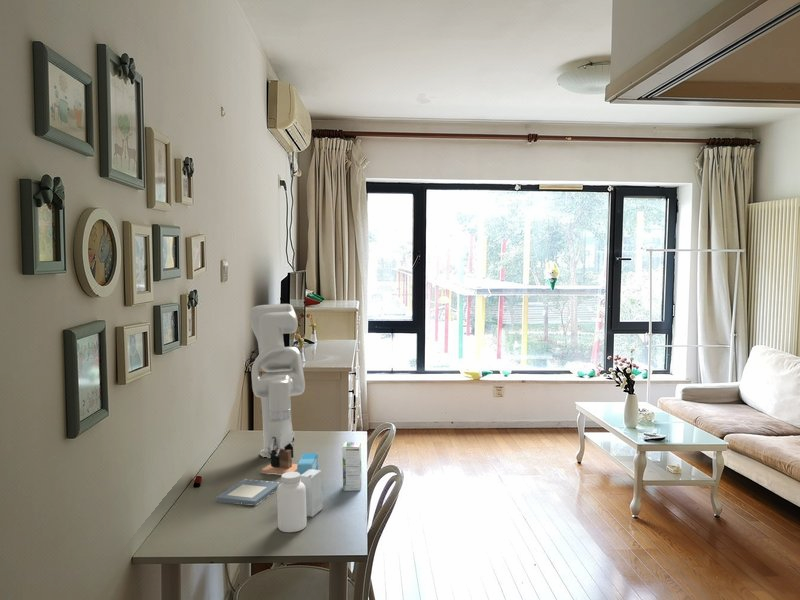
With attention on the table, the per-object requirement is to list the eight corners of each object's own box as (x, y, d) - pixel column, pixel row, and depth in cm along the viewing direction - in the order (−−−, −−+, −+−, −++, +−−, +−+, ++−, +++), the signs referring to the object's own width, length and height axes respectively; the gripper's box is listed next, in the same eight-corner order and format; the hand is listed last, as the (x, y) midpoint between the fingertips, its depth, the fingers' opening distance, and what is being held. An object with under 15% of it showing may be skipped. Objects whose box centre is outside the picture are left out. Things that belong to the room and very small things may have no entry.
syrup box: (344, 484, 200) (342, 441, 199) (362, 484, 200) (360, 441, 199) (343, 491, 194) (341, 447, 193) (361, 490, 194) (359, 446, 193)
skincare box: (310, 507, 182) (308, 468, 182) (323, 509, 181) (322, 469, 180) (299, 515, 177) (298, 475, 176) (313, 517, 175) (311, 477, 174)
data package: (313, 502, 186) (311, 464, 185) (298, 502, 186) (296, 464, 186) (319, 487, 198) (317, 451, 197) (305, 487, 198) (303, 452, 197)
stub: (273, 466, 220) (272, 445, 220) (303, 468, 217) (302, 448, 216) (262, 473, 213) (261, 452, 212) (292, 476, 209) (291, 455, 208)
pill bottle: (308, 530, 167) (306, 477, 166) (279, 535, 165) (276, 481, 164) (305, 519, 174) (302, 468, 173) (276, 523, 172) (274, 471, 171)
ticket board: (244, 483, 204) (244, 478, 204) (281, 486, 200) (281, 482, 200) (216, 501, 189) (216, 496, 189) (255, 506, 185) (255, 501, 185)
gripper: (283, 407, 223) (285, 453, 224) (257, 420, 206) (260, 469, 207) (301, 408, 220) (303, 455, 221) (277, 421, 204) (279, 471, 205)
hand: (282, 462), depth 214 cm, fingers open, 9 cm apart
